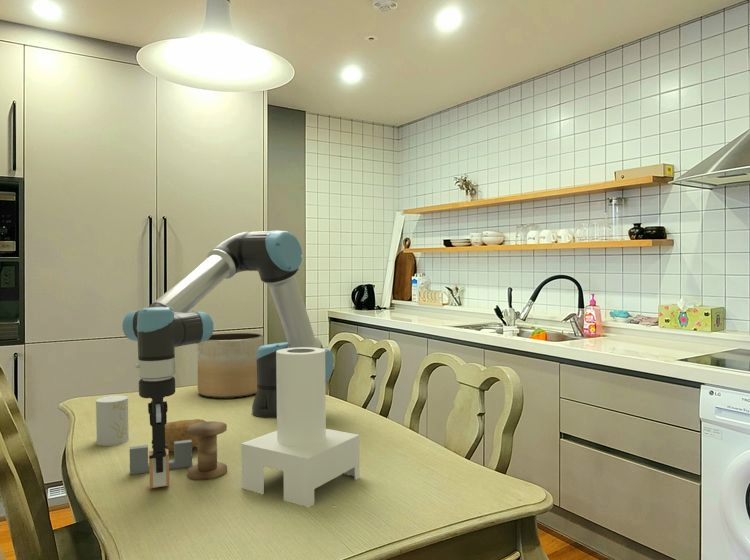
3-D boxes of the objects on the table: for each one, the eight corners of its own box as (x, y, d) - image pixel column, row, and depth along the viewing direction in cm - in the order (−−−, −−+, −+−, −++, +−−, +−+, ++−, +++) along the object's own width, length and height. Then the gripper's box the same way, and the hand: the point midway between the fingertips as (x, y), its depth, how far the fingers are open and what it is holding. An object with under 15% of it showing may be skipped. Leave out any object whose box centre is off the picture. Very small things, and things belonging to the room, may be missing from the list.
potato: (216, 449, 149) (215, 419, 149) (161, 460, 141) (161, 428, 141) (204, 440, 157) (203, 412, 157) (151, 450, 149) (151, 420, 149)
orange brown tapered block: (168, 479, 126) (168, 449, 126) (169, 485, 123) (168, 454, 123) (149, 482, 125) (149, 451, 124) (149, 488, 121) (149, 456, 121)
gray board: (191, 463, 138) (191, 439, 138) (192, 466, 137) (191, 441, 137) (130, 471, 133) (129, 446, 133) (129, 474, 131) (129, 449, 131)
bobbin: (224, 463, 138) (223, 419, 138) (229, 476, 130) (229, 429, 130) (186, 469, 135) (185, 423, 134) (189, 482, 126) (188, 434, 126)
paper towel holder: (308, 507, 113) (307, 360, 112) (241, 488, 123) (240, 353, 122) (359, 477, 129) (358, 348, 128) (296, 463, 139) (295, 343, 138)
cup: (116, 446, 152) (115, 402, 152) (90, 444, 154) (89, 401, 154) (134, 437, 160) (134, 396, 160) (109, 436, 162) (109, 395, 162)
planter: (185, 398, 208) (184, 339, 208) (215, 384, 233) (215, 332, 233) (249, 401, 204) (249, 340, 203) (273, 386, 229) (273, 332, 228)
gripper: (138, 372, 129) (141, 471, 130) (138, 386, 114) (141, 499, 115) (173, 369, 132) (175, 467, 133) (177, 383, 117) (179, 493, 117)
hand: (159, 481), depth 124 cm, fingers closed on orange brown tapered block, 4 cm apart
